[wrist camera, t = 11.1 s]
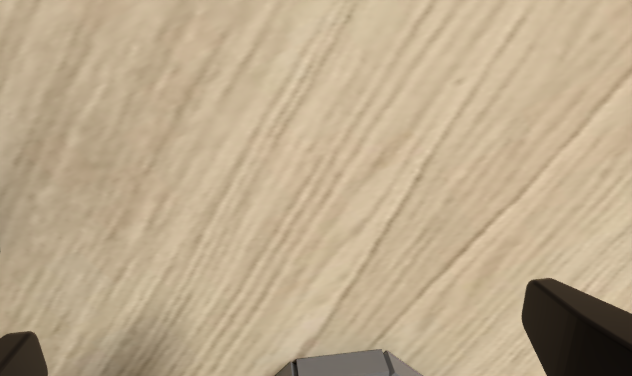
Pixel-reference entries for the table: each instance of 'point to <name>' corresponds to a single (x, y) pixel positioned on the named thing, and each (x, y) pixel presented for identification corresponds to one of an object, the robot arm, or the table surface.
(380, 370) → the dish
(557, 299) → the robot arm
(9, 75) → the table surface
